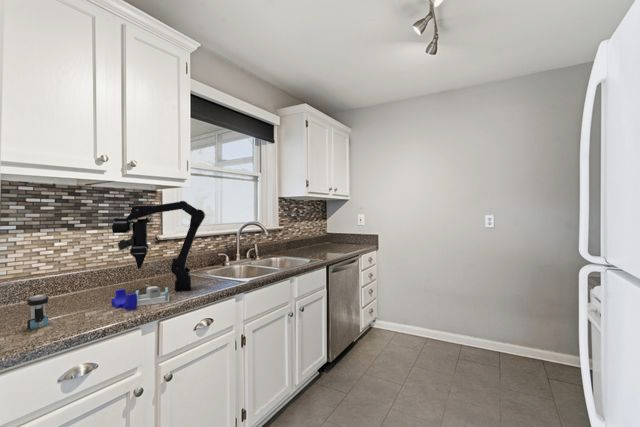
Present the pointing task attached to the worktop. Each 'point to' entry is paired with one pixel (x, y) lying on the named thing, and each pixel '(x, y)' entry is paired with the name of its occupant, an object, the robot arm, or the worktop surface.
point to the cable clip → (124, 300)
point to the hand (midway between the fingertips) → (140, 266)
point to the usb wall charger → (153, 292)
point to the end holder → (146, 300)
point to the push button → (37, 311)
